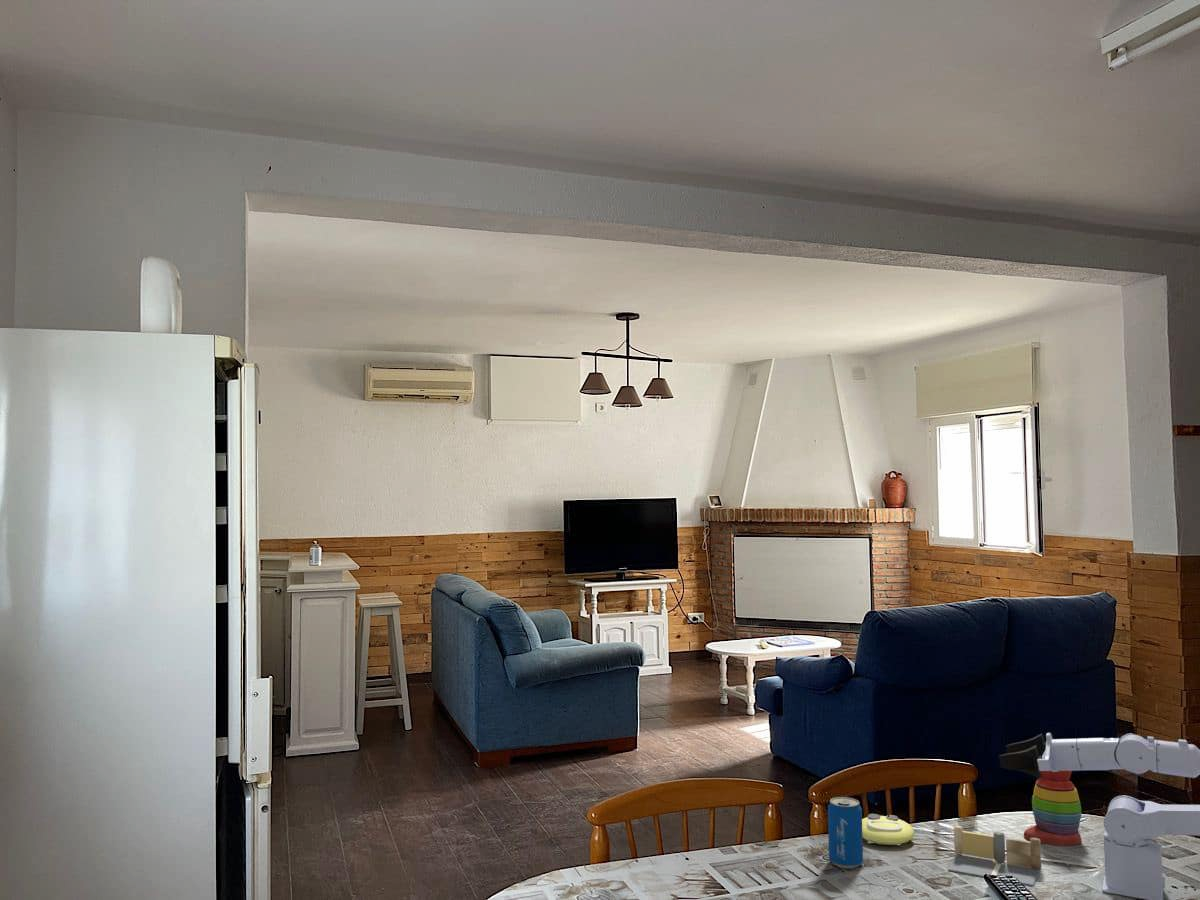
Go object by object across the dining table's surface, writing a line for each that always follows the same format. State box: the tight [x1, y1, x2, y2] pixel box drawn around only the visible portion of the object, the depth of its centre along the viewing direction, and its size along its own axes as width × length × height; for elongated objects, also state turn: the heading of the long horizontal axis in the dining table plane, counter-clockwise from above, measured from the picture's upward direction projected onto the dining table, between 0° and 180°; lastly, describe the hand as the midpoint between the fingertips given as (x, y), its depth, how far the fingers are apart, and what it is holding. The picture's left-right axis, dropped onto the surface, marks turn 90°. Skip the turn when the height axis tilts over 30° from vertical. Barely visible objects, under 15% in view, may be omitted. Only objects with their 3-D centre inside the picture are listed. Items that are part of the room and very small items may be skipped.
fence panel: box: [953, 825, 1006, 862], centre depth 188 cm, size 9×2×5 cm, turn 59°
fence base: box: [1005, 837, 1042, 871], centre depth 184 cm, size 6×2×5 cm, turn 59°
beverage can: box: [827, 796, 864, 869], centre depth 187 cm, size 6×6×12 cm
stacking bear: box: [1023, 771, 1082, 846], centre depth 201 cm, size 11×10×18 cm
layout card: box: [947, 854, 1040, 887], centre depth 184 cm, size 15×13×1 cm
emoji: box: [862, 813, 915, 846], centre depth 201 cm, size 4×12×12 cm
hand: (1003, 756), depth 186 cm, fingers open, 7 cm apart
